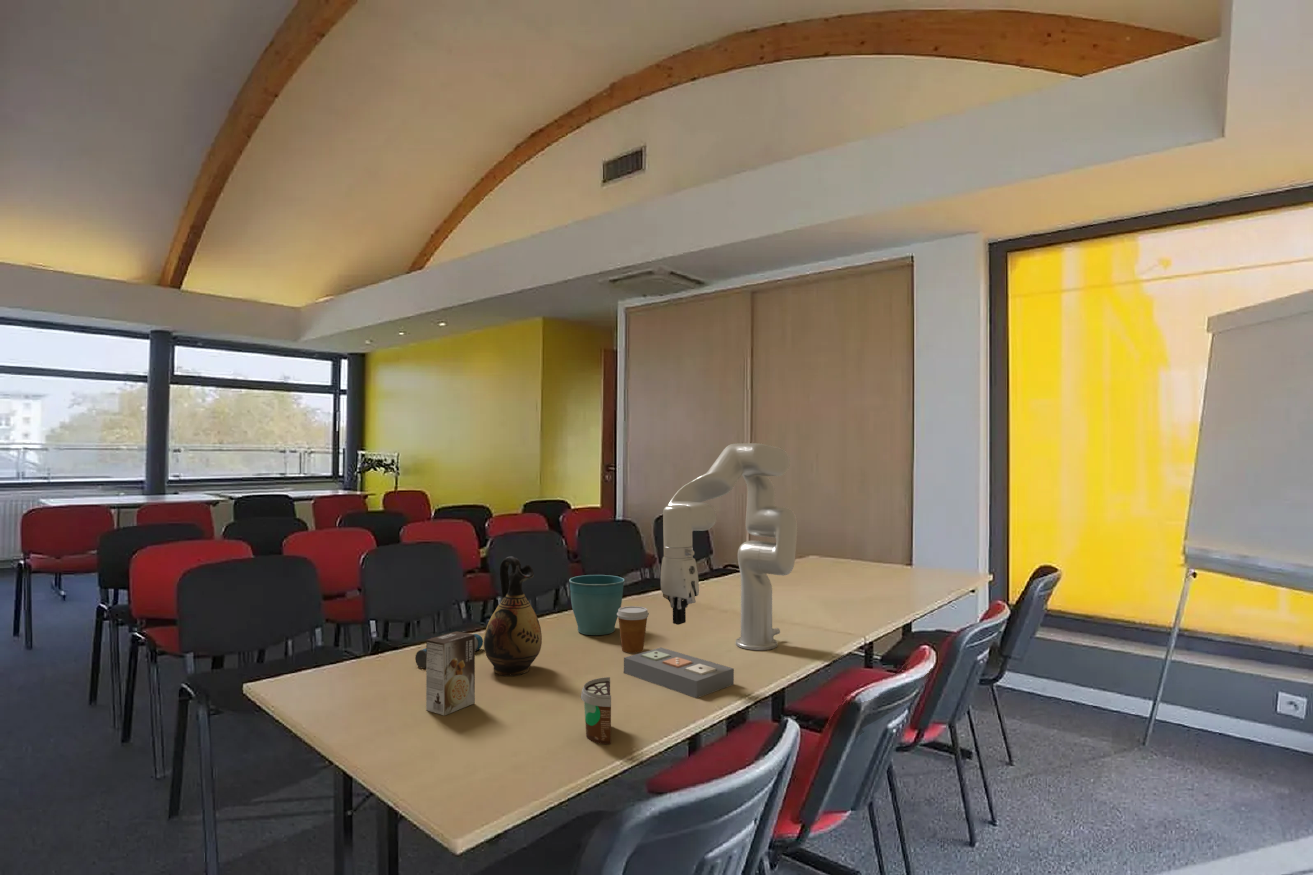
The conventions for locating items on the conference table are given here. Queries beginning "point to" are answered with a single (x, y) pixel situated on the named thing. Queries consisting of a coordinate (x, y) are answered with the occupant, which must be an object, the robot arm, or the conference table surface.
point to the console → (679, 673)
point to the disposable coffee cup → (632, 628)
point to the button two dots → (655, 655)
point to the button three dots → (677, 662)
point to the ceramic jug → (513, 624)
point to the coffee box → (450, 672)
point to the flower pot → (596, 602)
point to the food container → (597, 710)
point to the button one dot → (700, 669)
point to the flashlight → (421, 654)
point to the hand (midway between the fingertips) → (679, 623)
